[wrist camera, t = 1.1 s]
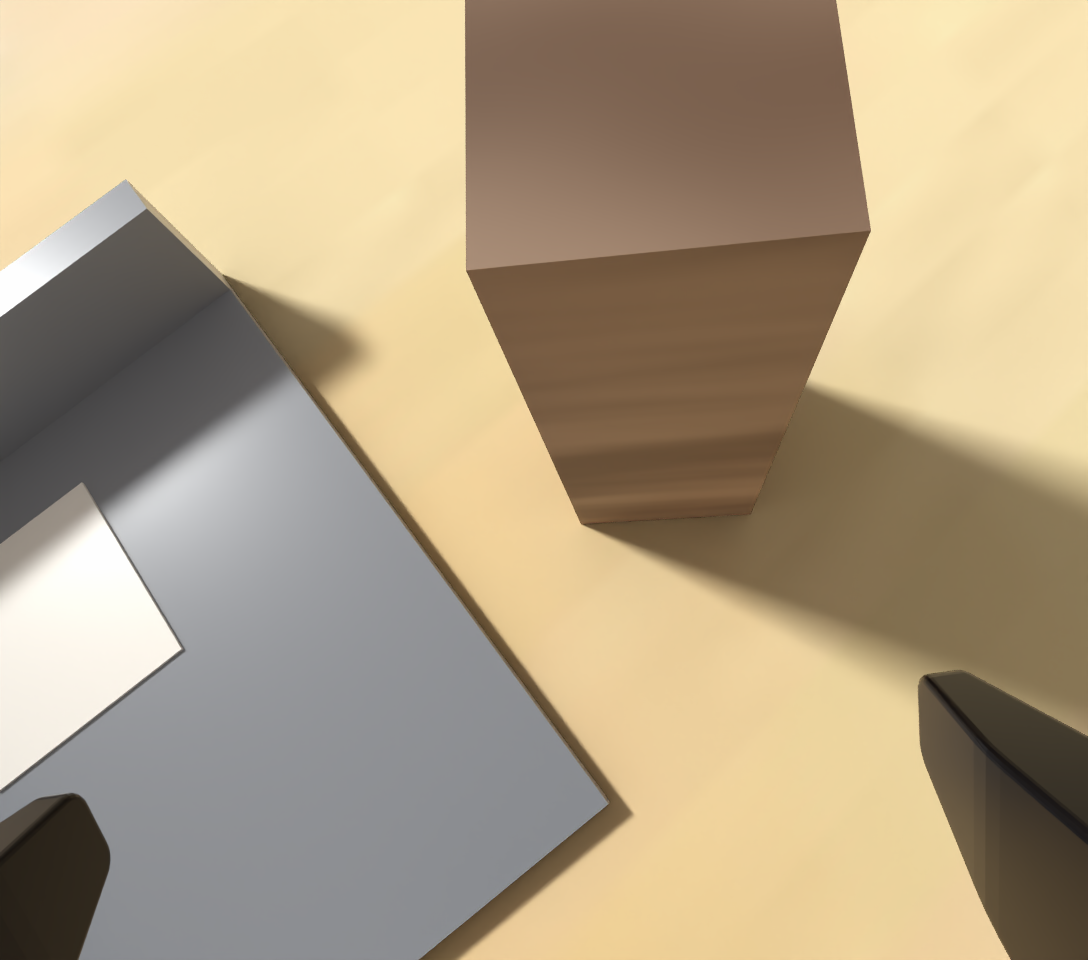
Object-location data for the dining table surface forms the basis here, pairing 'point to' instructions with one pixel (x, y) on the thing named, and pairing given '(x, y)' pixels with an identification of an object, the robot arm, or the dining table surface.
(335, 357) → the dining table surface
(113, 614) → the tray
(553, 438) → the walnut column
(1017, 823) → the robot arm
